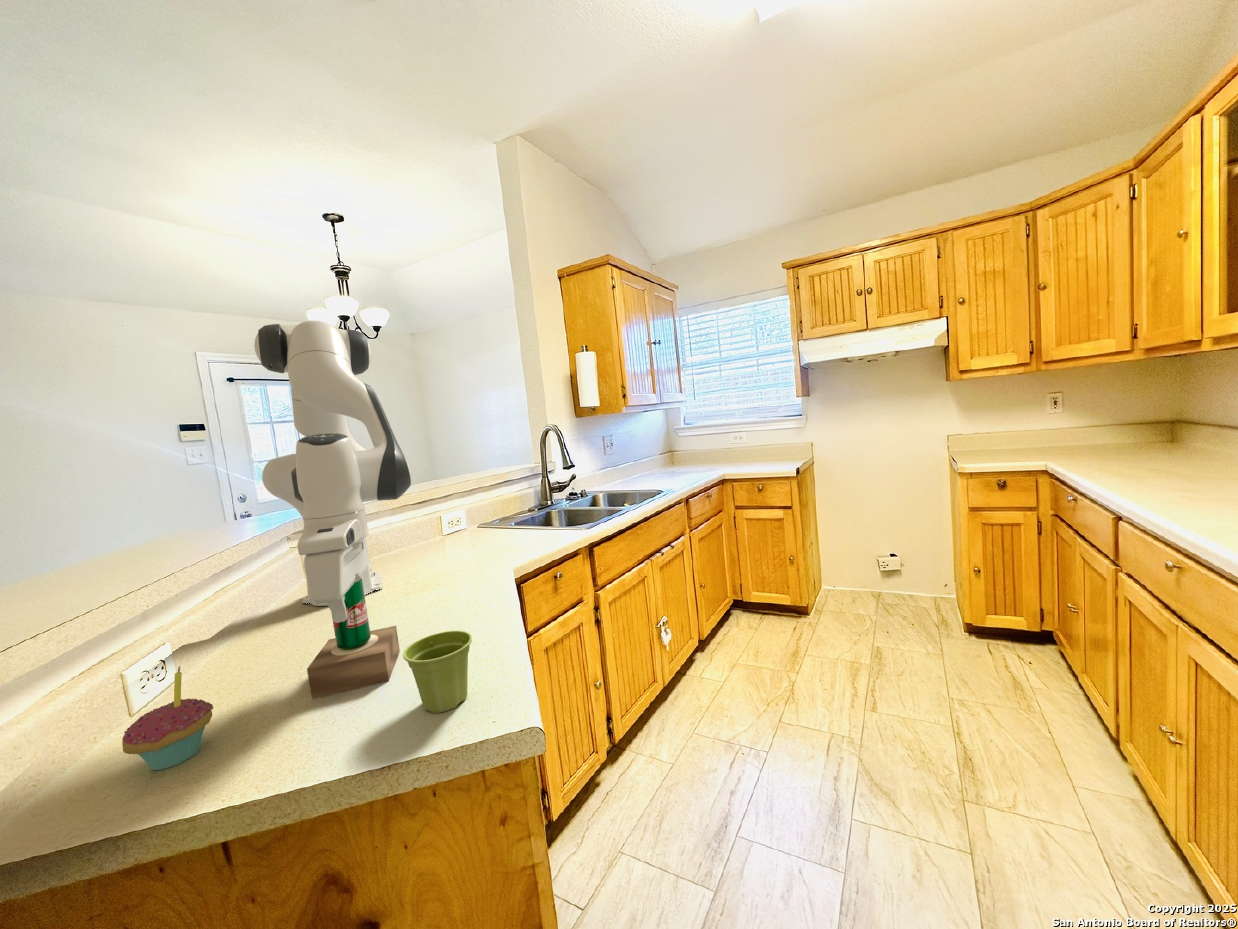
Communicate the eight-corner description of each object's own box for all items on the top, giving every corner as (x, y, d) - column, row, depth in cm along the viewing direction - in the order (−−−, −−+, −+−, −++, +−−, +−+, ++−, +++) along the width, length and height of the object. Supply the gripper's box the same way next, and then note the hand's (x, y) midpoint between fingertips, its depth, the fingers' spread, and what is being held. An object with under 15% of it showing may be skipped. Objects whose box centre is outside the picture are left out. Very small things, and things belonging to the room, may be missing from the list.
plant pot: (413, 694, 70) (405, 639, 69) (477, 676, 73) (470, 624, 72) (408, 729, 61) (399, 668, 60) (481, 708, 64) (473, 649, 63)
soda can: (355, 652, 74) (344, 581, 73) (329, 651, 75) (318, 581, 74) (378, 637, 79) (368, 570, 78) (353, 637, 80) (343, 571, 79)
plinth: (333, 666, 81) (328, 638, 81) (399, 651, 85) (395, 624, 84) (311, 699, 71) (306, 667, 70) (388, 681, 74) (384, 650, 74)
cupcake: (226, 727, 66) (211, 648, 65) (206, 763, 58) (189, 674, 57) (145, 752, 62) (129, 668, 61) (113, 794, 54) (93, 699, 53)
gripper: (334, 522, 85) (345, 593, 86) (292, 547, 65) (307, 639, 66) (372, 517, 86) (382, 587, 88) (341, 540, 67) (355, 629, 68)
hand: (349, 609), depth 77 cm, fingers open, 8 cm apart
